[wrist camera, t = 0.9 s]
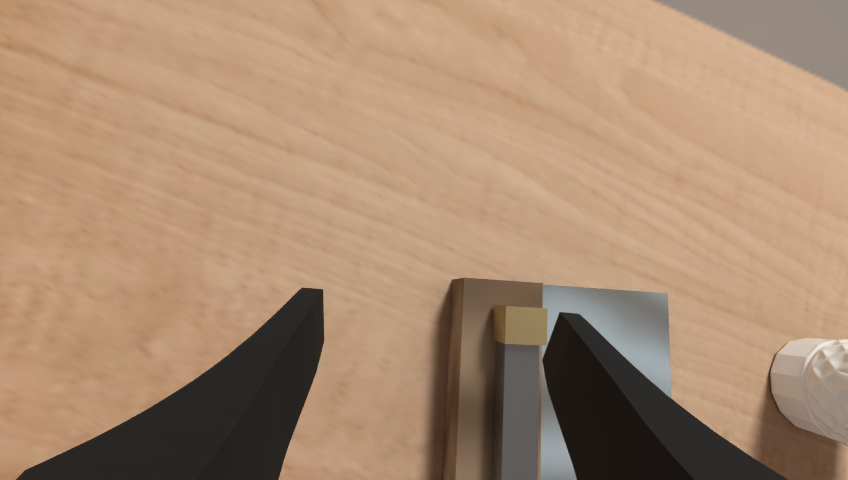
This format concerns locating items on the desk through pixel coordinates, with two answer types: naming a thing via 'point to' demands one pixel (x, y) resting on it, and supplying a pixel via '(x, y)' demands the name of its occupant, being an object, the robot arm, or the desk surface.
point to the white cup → (813, 386)
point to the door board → (476, 357)
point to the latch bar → (517, 390)
